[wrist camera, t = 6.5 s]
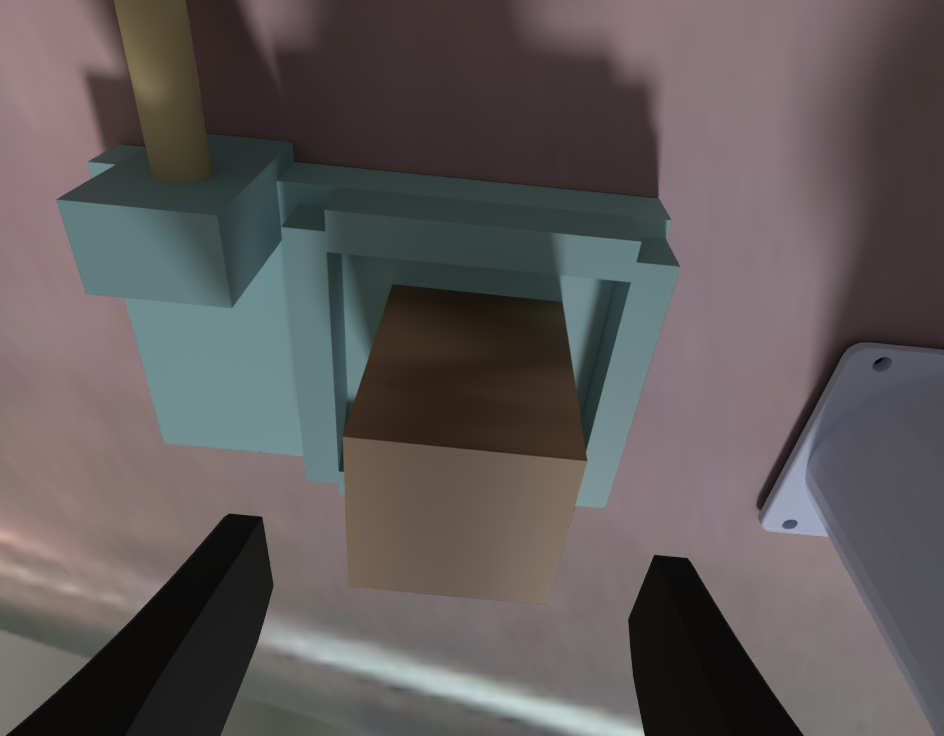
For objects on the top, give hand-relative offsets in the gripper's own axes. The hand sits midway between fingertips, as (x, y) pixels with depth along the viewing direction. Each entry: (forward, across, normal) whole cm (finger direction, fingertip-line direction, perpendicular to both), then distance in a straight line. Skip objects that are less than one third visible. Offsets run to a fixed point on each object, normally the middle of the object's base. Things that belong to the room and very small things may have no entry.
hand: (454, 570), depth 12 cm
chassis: (+9, +3, -4) cm, 10 cm away
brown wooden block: (+7, 0, 0) cm, 7 cm away
